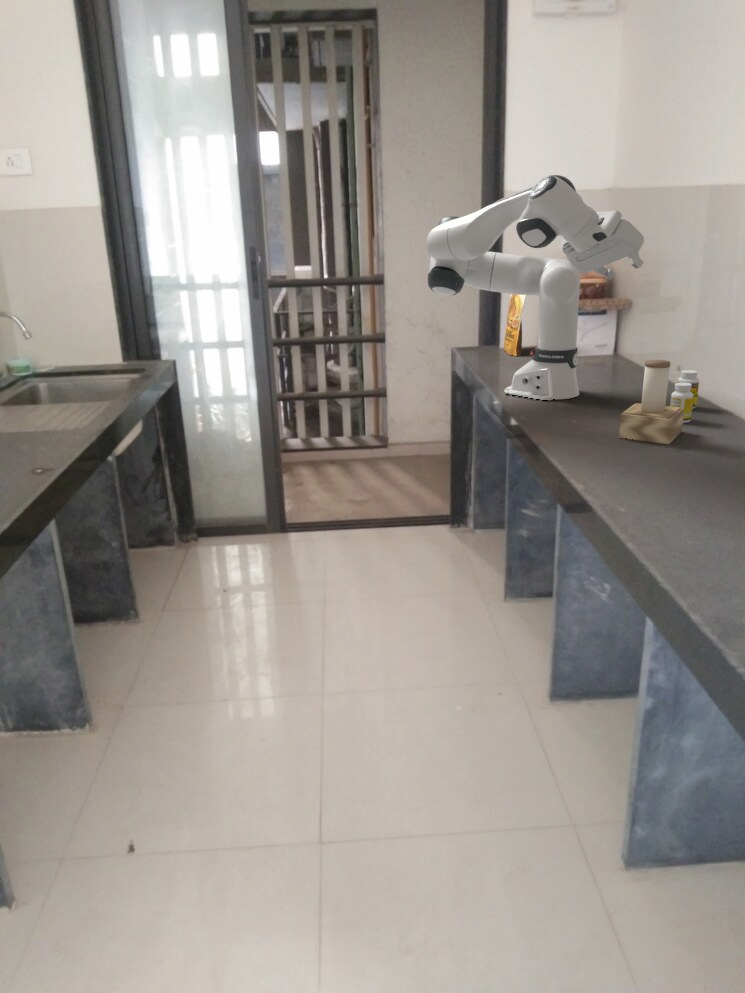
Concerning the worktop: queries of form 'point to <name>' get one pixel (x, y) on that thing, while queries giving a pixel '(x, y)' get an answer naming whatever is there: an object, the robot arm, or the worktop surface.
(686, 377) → the supplement bottle
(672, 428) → the oak block
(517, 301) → the pancake mix bag
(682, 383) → the supplement bottle
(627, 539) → the worktop surface
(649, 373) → the cream tin
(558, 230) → the robot arm
